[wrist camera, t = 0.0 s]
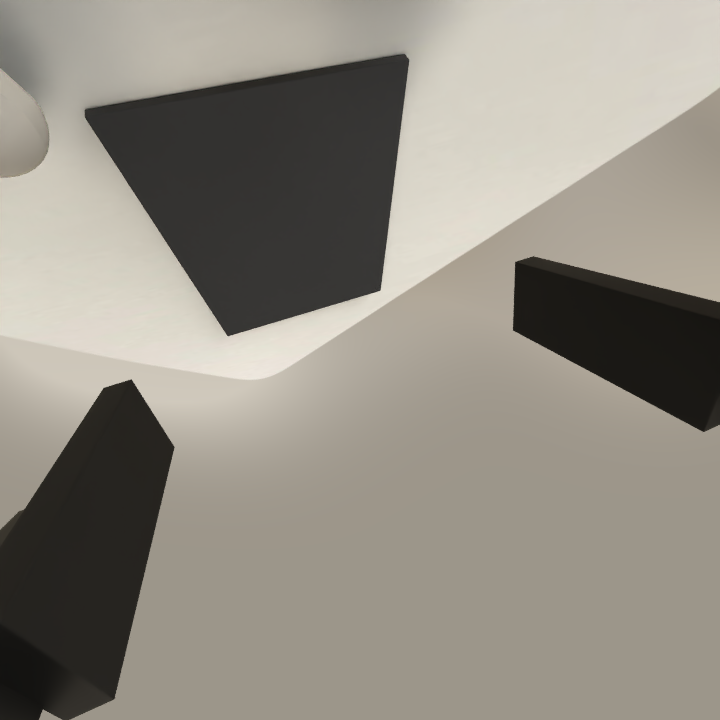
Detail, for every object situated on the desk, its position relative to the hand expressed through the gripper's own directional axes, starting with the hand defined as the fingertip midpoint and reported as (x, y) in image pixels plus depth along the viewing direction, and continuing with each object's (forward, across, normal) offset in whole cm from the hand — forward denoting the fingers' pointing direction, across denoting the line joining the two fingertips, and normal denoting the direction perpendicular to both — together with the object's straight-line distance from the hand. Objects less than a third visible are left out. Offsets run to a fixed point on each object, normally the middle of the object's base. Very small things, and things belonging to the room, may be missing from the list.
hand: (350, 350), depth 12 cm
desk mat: (+18, +1, +2) cm, 18 cm away
